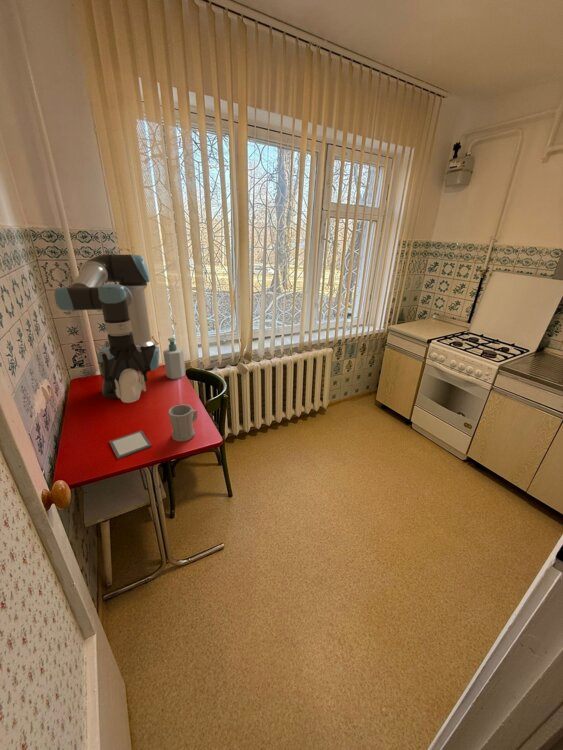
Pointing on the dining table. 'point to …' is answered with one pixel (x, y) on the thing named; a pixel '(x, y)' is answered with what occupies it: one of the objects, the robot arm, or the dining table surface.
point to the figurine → (130, 386)
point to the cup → (182, 422)
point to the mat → (129, 444)
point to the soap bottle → (174, 361)
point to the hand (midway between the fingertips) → (131, 393)
